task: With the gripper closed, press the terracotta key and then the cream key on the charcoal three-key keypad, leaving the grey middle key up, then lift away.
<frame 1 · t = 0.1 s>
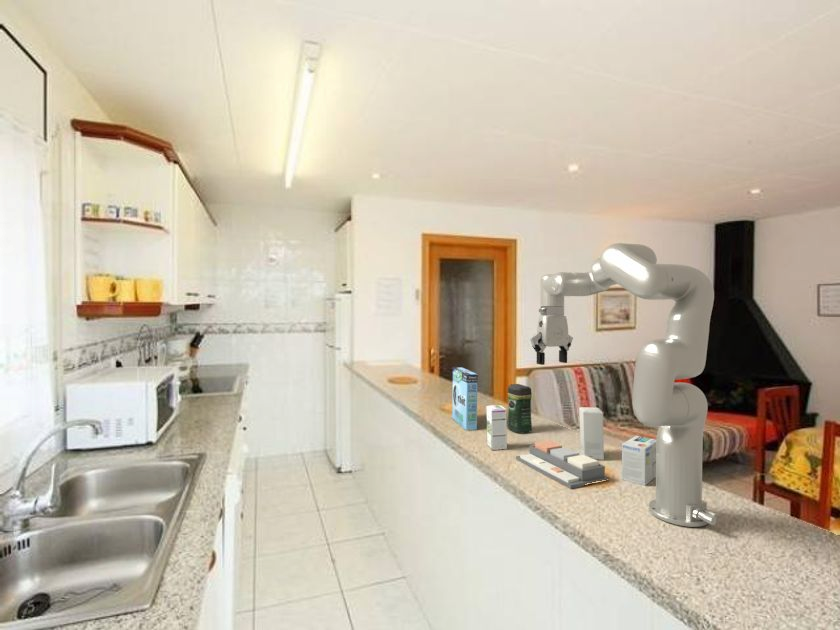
hand: (551, 363, 146), 31 cm above the counter, tool pointing down, fingers open, 9 cm apart
grey key: (564, 455, 135), point 4 cm above the counter, slide at 0.0 cm
cream key: (582, 463, 128), point 4 cm above the counter, slide at 0.0 cm
skincare box: (590, 456, 147), on the counter
keypad: (559, 469, 135), on the counter
light bulb box: (639, 478, 128), on the counter
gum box: (464, 424, 186), on the counter
terracotta key: (548, 448, 142), point 4 cm above the counter, slide at 0.0 cm
coffee jar: (519, 431, 176), on the counter
syrup box: (496, 448, 156), on the counter
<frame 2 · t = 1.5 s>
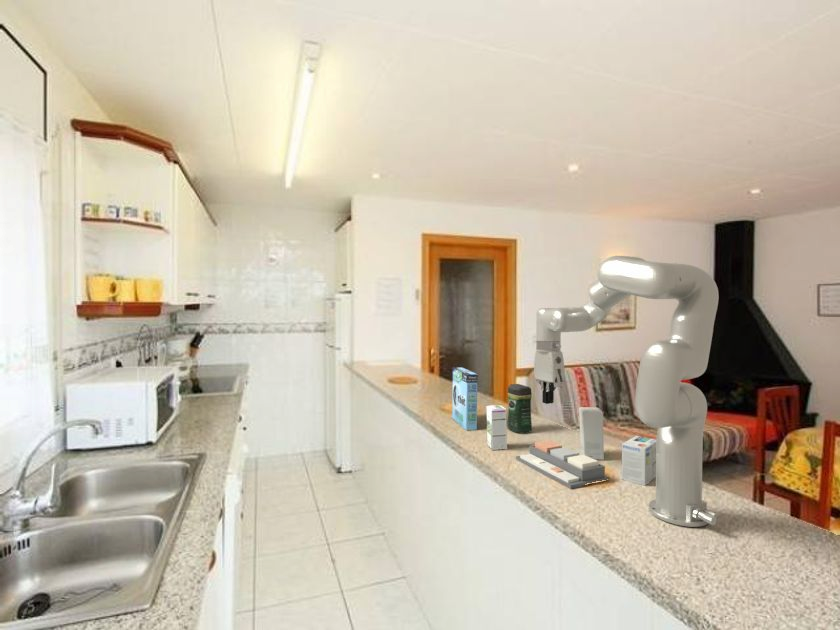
hand: (547, 402, 142), 19 cm above the counter, tool pointing down, fingers closed
nothing on the counter moved.
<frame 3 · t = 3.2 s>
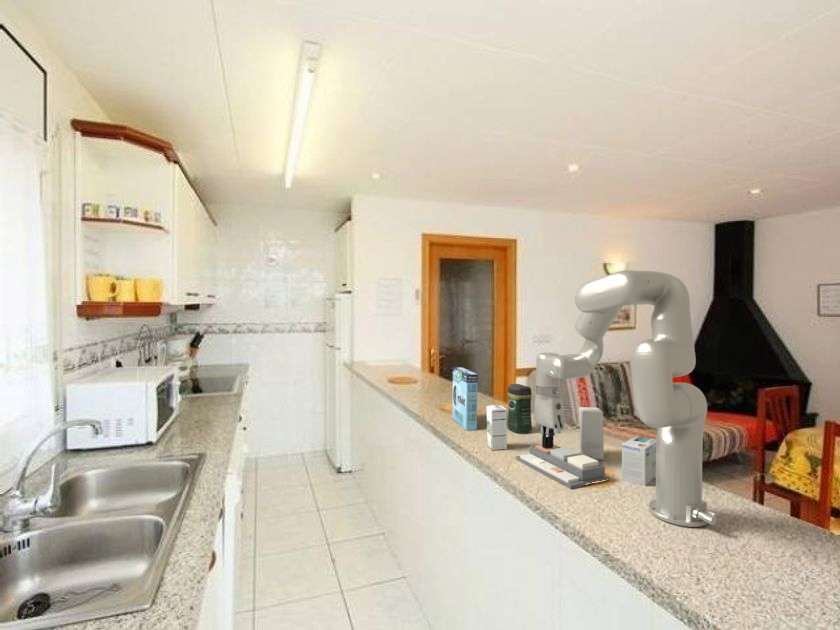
hand: (547, 447, 142), 4 cm above the counter, tool pointing down, fingers closed
terracotta key: (548, 451, 142), point 3 cm above the counter, slide at 1.1 cm, touching gripper
everything else where it was.
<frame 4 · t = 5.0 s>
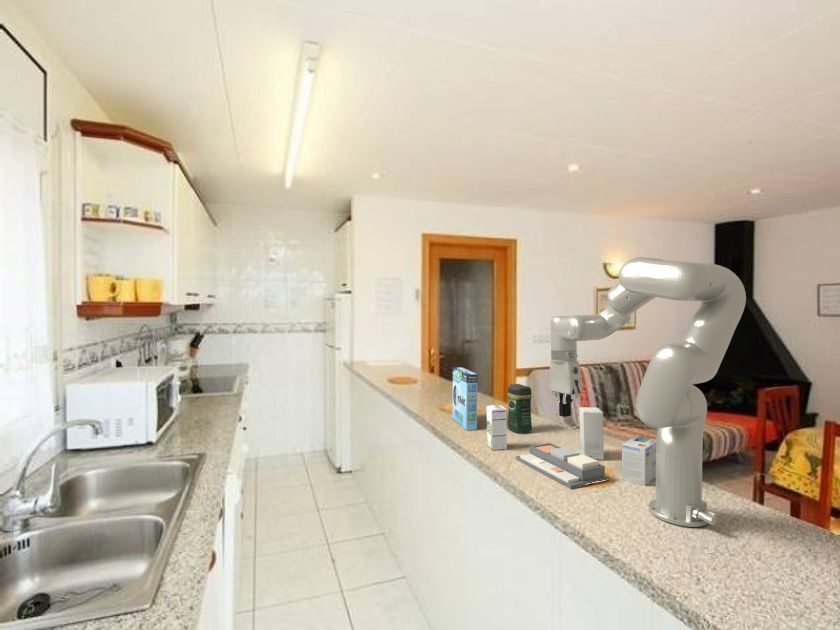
hand: (565, 415, 135), 16 cm above the counter, tool pointing down, fingers closed
terracotta key: (548, 452, 142), point 3 cm above the counter, slide at 1.5 cm
everything else where it was.
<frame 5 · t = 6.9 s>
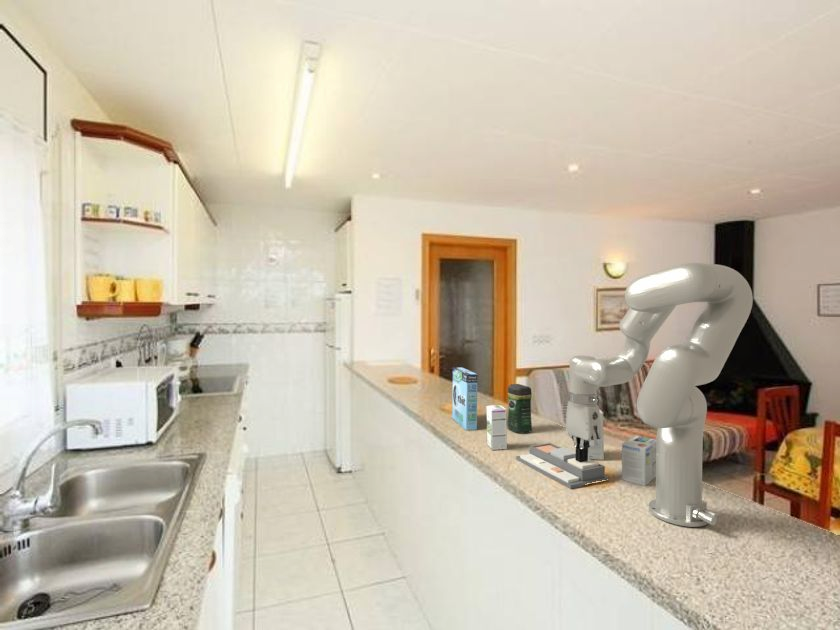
hand: (581, 460, 129), 5 cm above the counter, tool pointing down, fingers closed
cream key: (582, 465, 128), point 3 cm above the counter, slide at 0.6 cm, touching gripper
everything else where it was.
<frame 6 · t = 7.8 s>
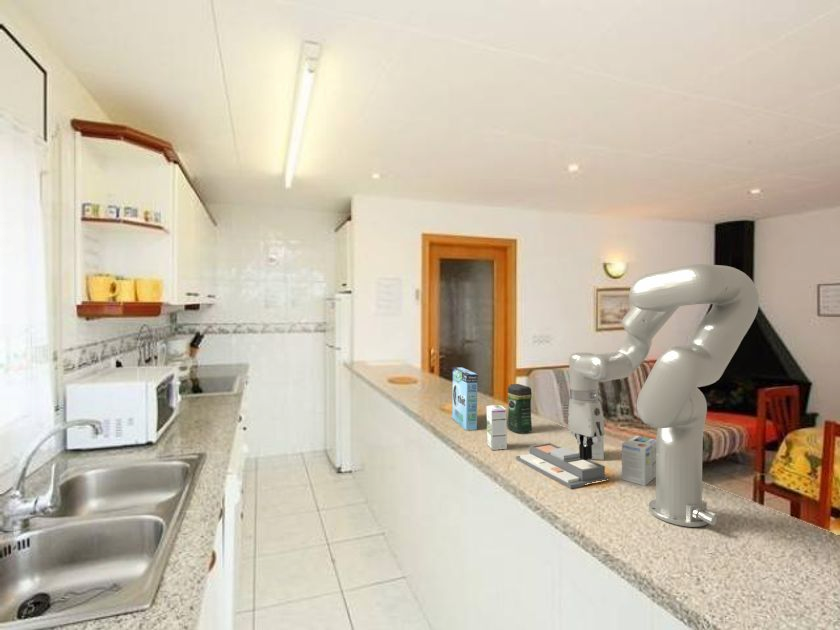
hand: (585, 458, 127), 6 cm above the counter, tool pointing down, fingers closed
cream key: (582, 468, 128), point 3 cm above the counter, slide at 1.5 cm
everything else where it was.
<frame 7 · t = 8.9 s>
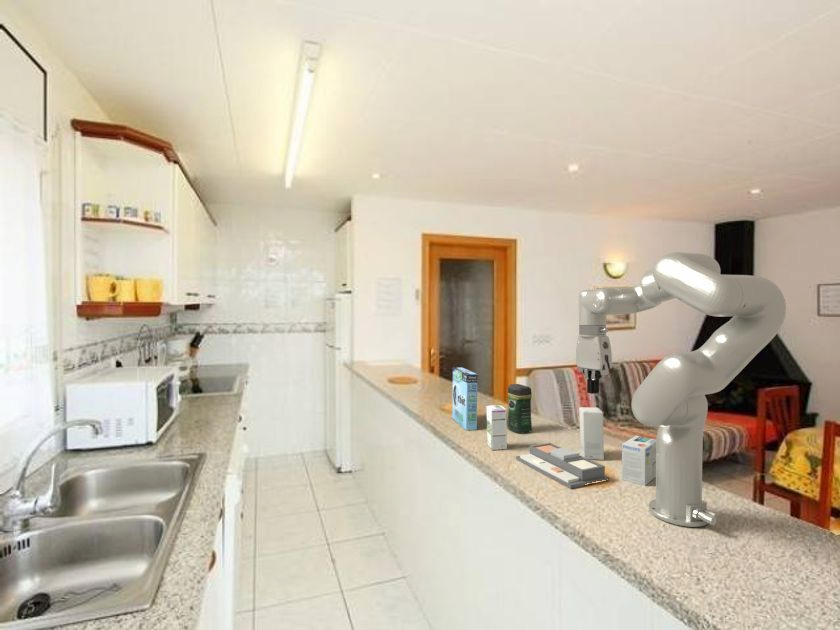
hand: (593, 392, 131), 24 cm above the counter, tool pointing down, fingers closed
nothing on the counter moved.
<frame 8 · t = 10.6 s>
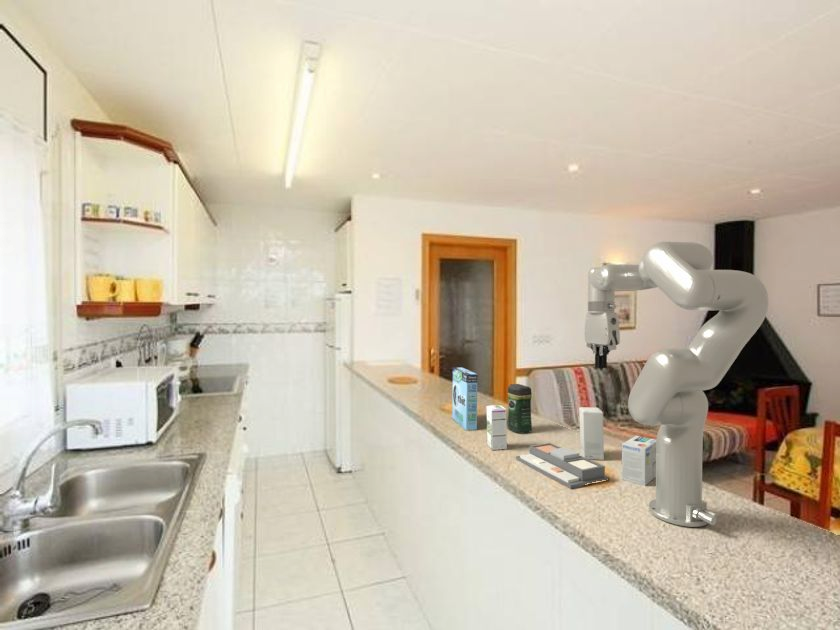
hand: (600, 367, 134), 31 cm above the counter, tool pointing down, fingers closed
nothing on the counter moved.
at the end: terracotta key slide at 1.5 cm; cream key slide at 1.5 cm; grey key slide at 0.0 cm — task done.
